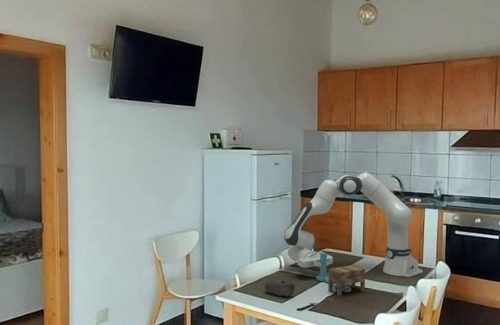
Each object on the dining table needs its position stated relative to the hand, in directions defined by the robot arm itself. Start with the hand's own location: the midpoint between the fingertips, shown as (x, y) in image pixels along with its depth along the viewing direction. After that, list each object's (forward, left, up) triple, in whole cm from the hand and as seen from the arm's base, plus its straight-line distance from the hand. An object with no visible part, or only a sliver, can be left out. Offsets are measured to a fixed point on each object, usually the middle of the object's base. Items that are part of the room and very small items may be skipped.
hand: (324, 264), depth 239 cm
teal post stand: (0, +5, -8) cm, 9 cm away
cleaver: (+23, +22, -9) cm, 33 cm away
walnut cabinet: (0, +18, -8) cm, 20 cm away
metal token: (0, +18, -9) cm, 20 cm away
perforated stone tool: (+33, +8, -9) cm, 35 cm away
